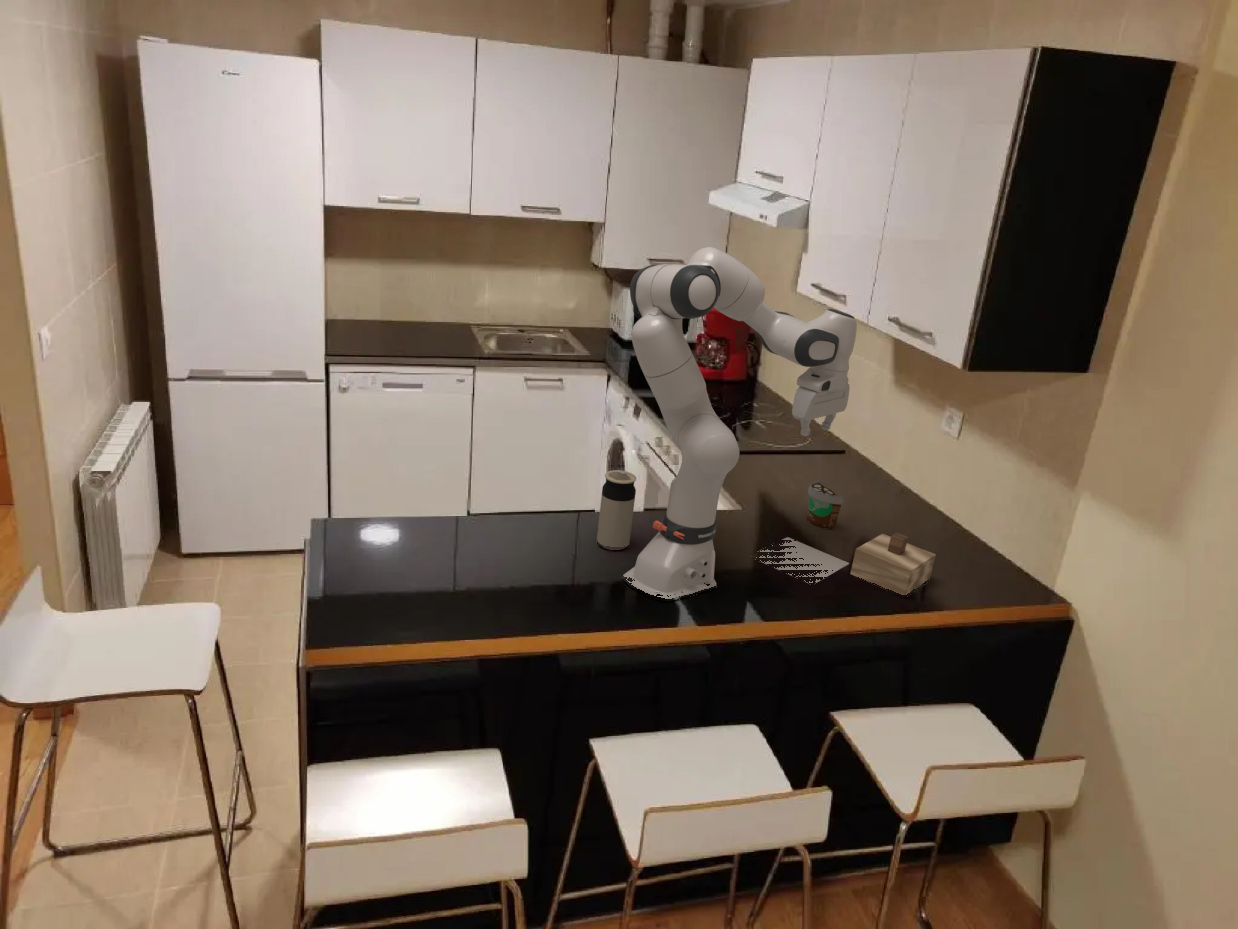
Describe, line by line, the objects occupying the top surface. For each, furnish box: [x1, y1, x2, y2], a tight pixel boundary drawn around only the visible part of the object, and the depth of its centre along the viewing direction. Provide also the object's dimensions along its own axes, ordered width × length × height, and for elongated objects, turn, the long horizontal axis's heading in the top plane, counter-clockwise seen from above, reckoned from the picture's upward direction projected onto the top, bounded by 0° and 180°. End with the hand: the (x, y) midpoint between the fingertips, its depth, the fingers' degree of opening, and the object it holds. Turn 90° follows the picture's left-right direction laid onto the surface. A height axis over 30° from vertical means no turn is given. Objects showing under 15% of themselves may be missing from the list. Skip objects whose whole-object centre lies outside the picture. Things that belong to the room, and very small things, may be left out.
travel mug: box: [596, 469, 637, 547], centre depth 221 cm, size 8×8×18 cm
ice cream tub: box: [806, 479, 844, 530], centre depth 248 cm, size 12×6×10 cm, turn 21°
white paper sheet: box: [756, 536, 850, 584], centre depth 226 cm, size 18×18×1 cm
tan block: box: [850, 532, 937, 595], centre depth 221 cm, size 14×14×11 cm
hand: (815, 432), depth 224 cm, fingers open, 8 cm apart
